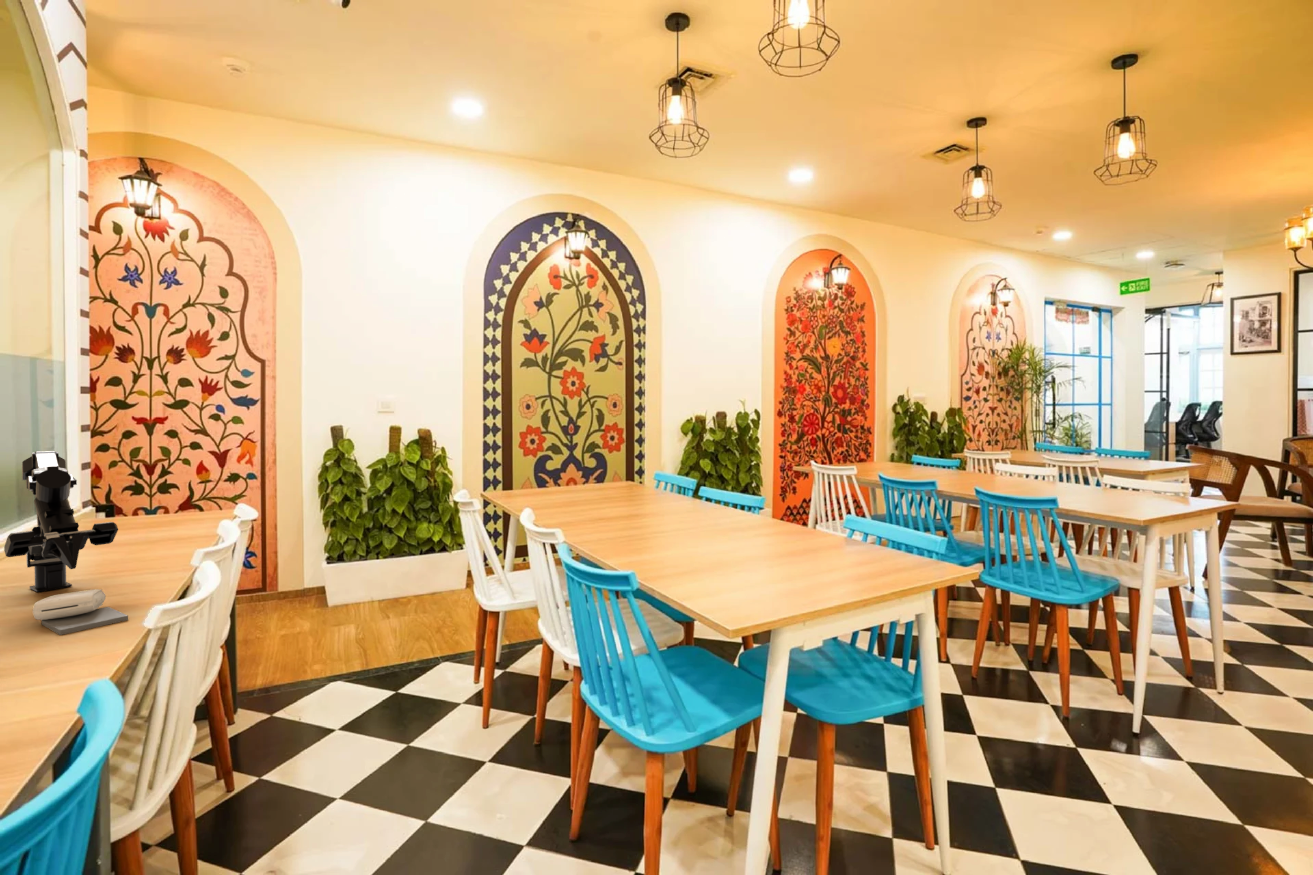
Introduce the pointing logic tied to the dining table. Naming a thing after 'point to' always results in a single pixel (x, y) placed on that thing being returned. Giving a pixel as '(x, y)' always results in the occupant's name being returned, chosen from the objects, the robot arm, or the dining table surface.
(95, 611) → the board
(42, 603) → the photo printer
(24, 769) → the dining table surface
